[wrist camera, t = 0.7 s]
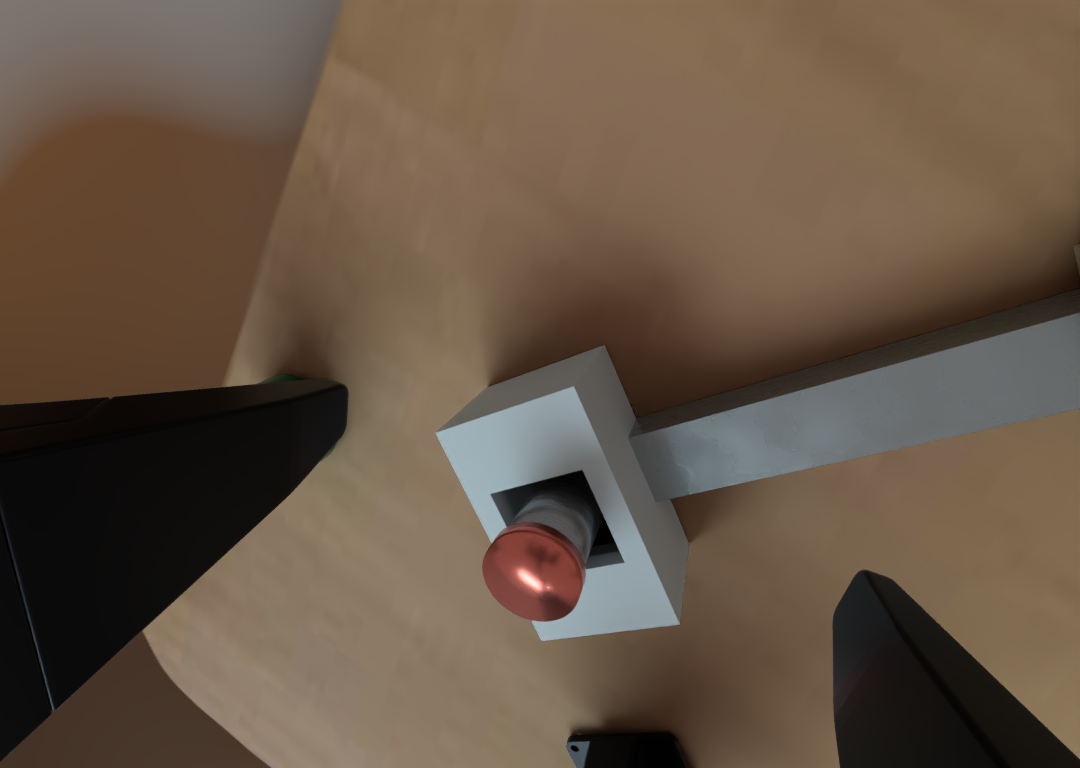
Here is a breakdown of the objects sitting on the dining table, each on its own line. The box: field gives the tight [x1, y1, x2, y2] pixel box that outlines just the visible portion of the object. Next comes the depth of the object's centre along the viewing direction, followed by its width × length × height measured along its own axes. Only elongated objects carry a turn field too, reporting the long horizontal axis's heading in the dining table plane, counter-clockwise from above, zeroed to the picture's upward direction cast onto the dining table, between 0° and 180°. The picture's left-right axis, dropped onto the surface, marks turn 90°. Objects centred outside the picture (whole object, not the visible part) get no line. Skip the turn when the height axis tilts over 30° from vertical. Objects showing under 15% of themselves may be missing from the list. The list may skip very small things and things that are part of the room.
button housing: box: [436, 345, 689, 641], centre depth 23 cm, size 10×6×5 cm, turn 26°
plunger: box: [483, 470, 603, 622], centre depth 20 cm, size 3×3×5 cm
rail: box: [628, 288, 1080, 502], centre depth 18 cm, size 3×22×2 cm, turn 116°
